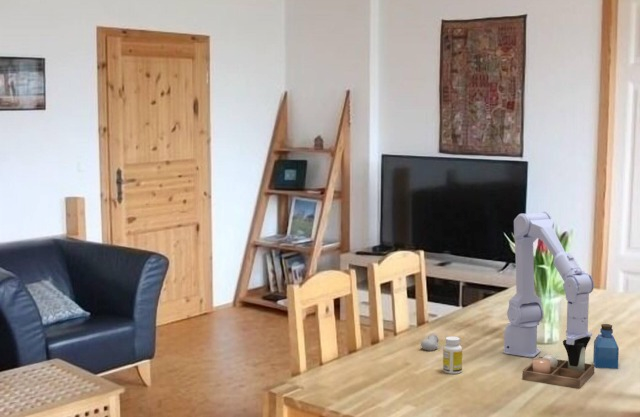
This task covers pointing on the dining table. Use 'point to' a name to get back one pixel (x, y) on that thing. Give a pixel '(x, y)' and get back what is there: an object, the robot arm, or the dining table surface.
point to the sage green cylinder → (581, 362)
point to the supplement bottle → (452, 356)
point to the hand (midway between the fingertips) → (576, 363)
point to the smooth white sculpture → (430, 342)
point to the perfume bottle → (606, 349)
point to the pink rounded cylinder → (541, 365)
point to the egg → (552, 360)
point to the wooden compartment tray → (560, 375)
